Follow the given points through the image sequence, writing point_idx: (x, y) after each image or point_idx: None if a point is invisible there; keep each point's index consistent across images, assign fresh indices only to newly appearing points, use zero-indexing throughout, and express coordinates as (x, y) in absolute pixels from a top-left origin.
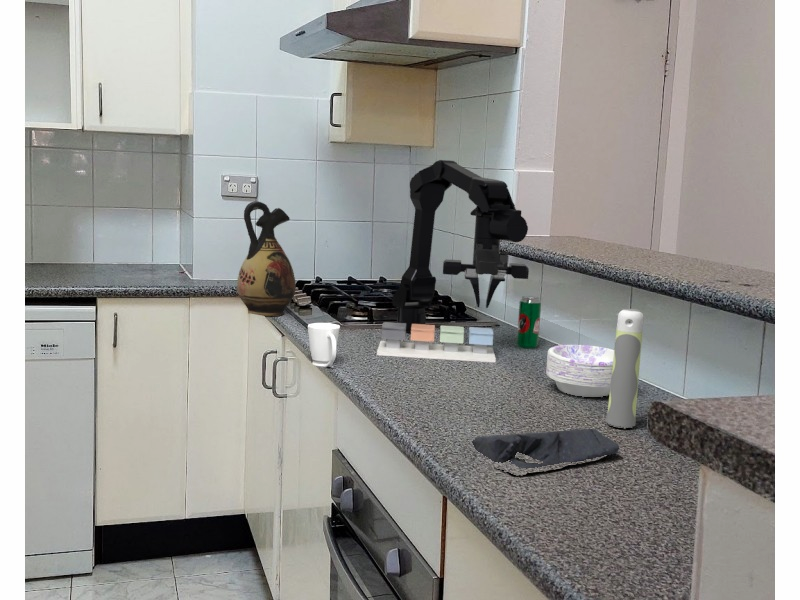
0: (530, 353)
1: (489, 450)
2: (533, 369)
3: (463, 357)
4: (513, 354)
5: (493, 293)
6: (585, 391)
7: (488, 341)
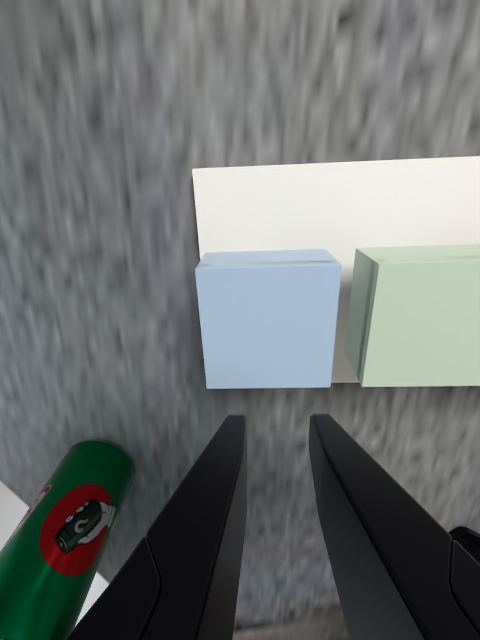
0: (78, 377)
1: None
2: (10, 70)
3: (345, 162)
4: (134, 346)
5: (136, 547)
6: None
7: (225, 255)
